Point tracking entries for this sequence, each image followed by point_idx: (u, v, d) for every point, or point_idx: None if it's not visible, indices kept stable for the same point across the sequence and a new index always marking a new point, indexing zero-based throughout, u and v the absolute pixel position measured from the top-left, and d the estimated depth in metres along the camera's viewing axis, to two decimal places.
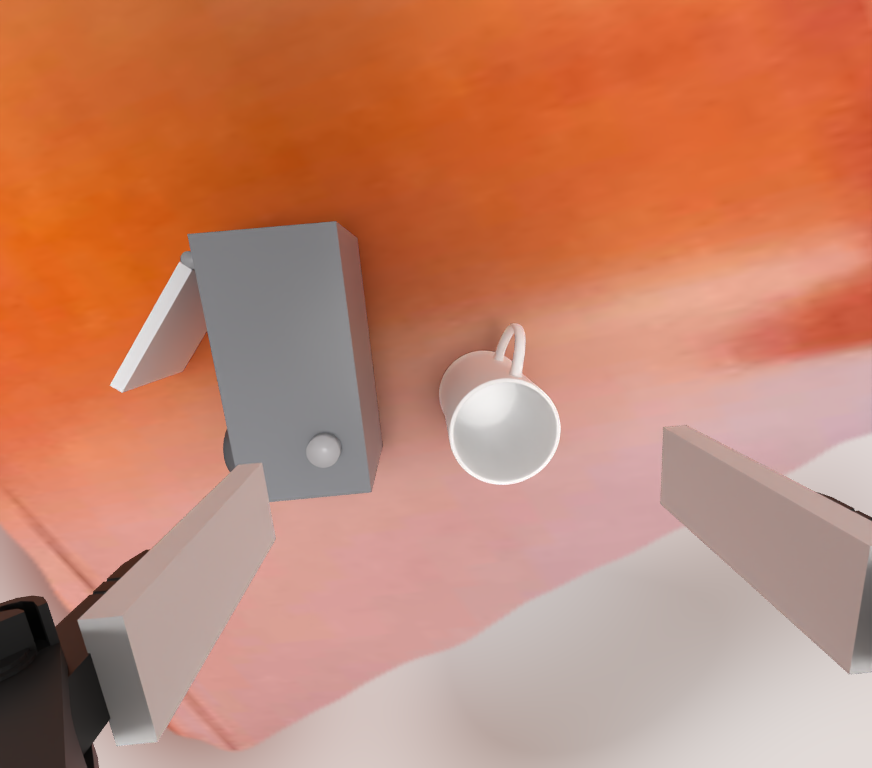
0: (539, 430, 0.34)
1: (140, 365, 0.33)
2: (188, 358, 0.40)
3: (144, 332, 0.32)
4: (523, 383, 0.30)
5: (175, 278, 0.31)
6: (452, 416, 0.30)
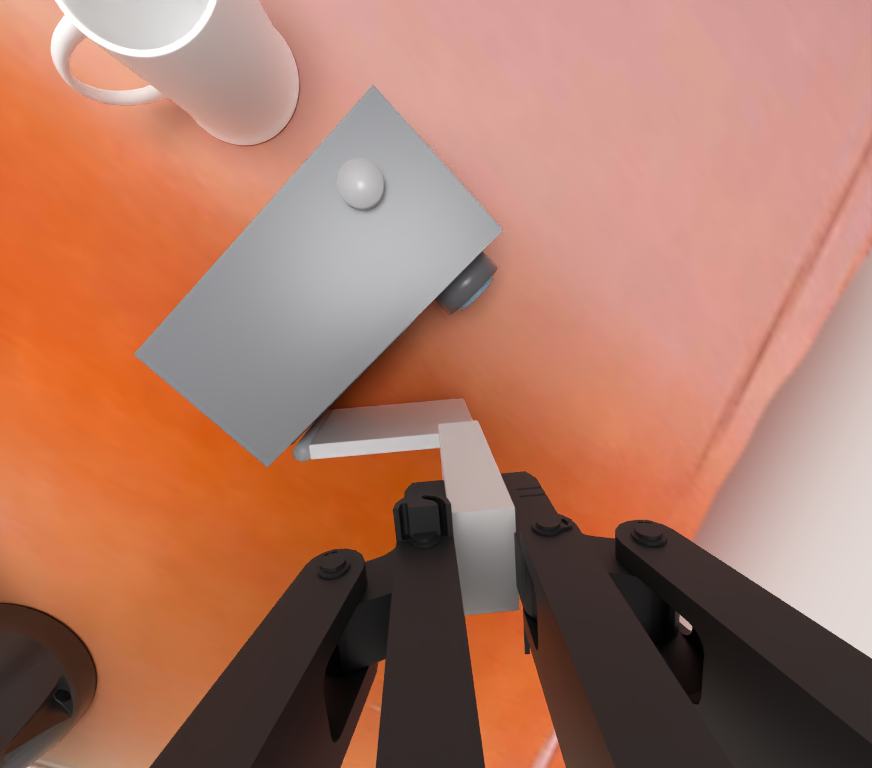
0: None
1: None
2: (444, 401, 0.36)
3: (400, 447, 0.28)
4: None
5: (328, 453, 0.28)
6: (175, 51, 0.20)
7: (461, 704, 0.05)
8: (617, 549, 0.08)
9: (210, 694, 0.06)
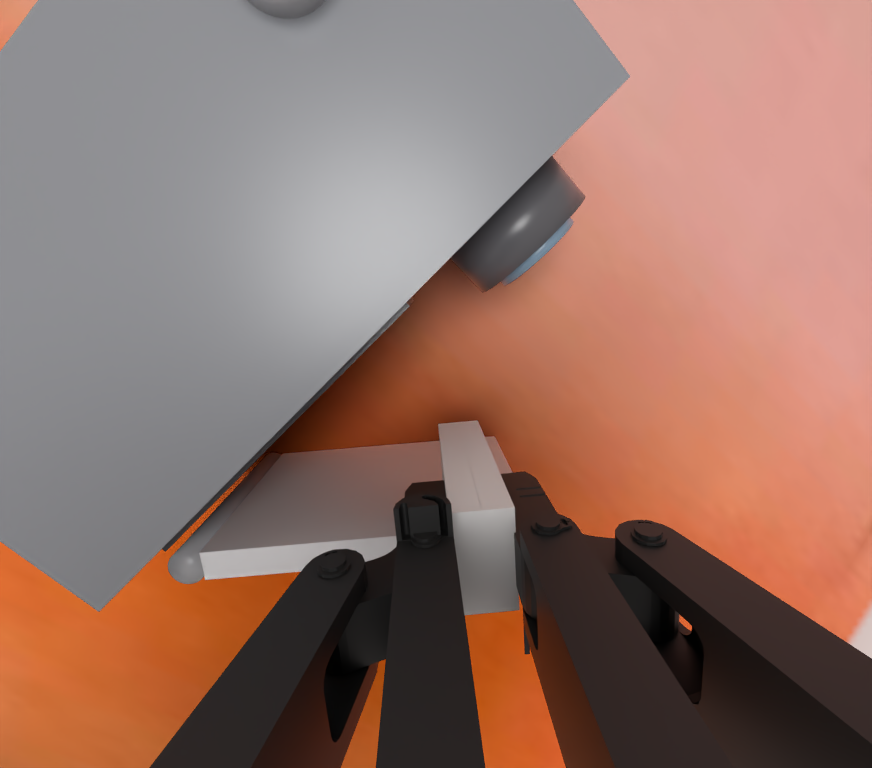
0: None
1: None
2: None
3: None
4: None
5: (239, 568, 0.14)
6: None
7: (461, 704, 0.05)
8: (617, 549, 0.08)
9: (210, 694, 0.06)
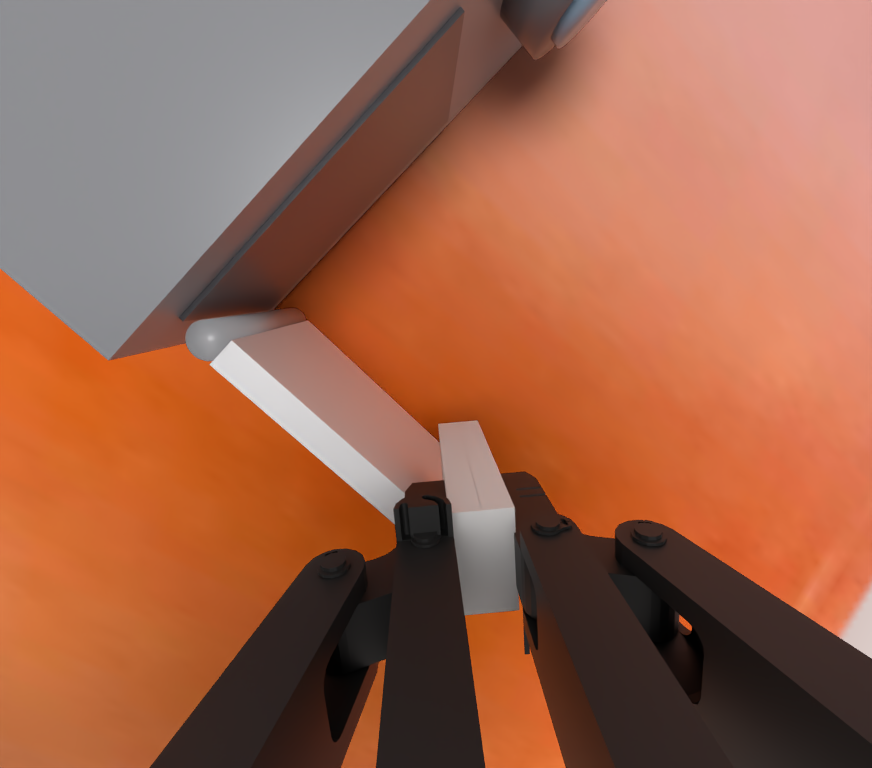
0: None
1: None
2: None
3: (366, 488, 0.14)
4: None
5: (248, 384, 0.13)
6: None
7: (461, 704, 0.05)
8: (617, 549, 0.08)
9: (210, 694, 0.06)
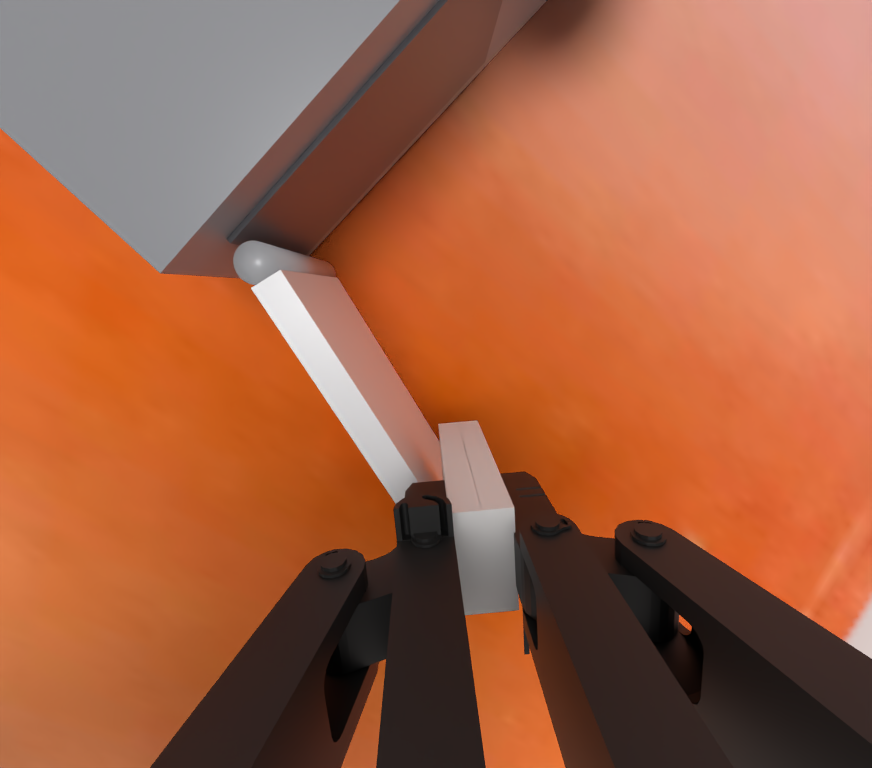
0: None
1: None
2: (437, 441, 0.22)
3: (371, 452, 0.13)
4: None
5: (284, 318, 0.12)
6: None
7: (462, 704, 0.05)
8: (616, 549, 0.08)
9: (211, 694, 0.06)
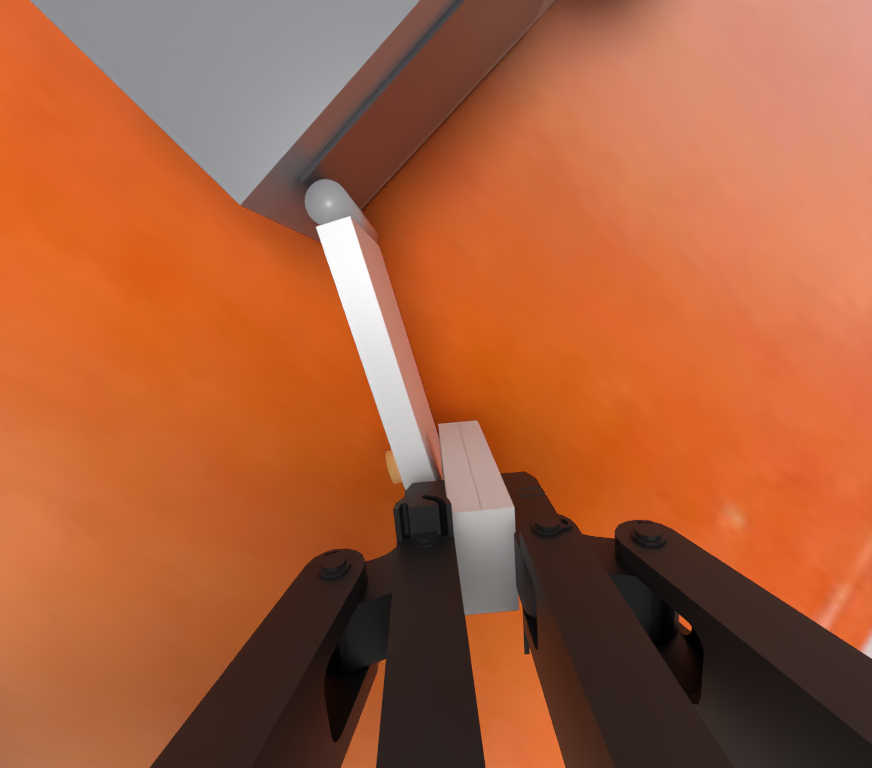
0: None
1: None
2: (436, 431, 0.22)
3: (391, 420, 0.13)
4: None
5: (341, 266, 0.12)
6: None
7: (461, 704, 0.05)
8: (617, 549, 0.08)
9: (210, 694, 0.06)
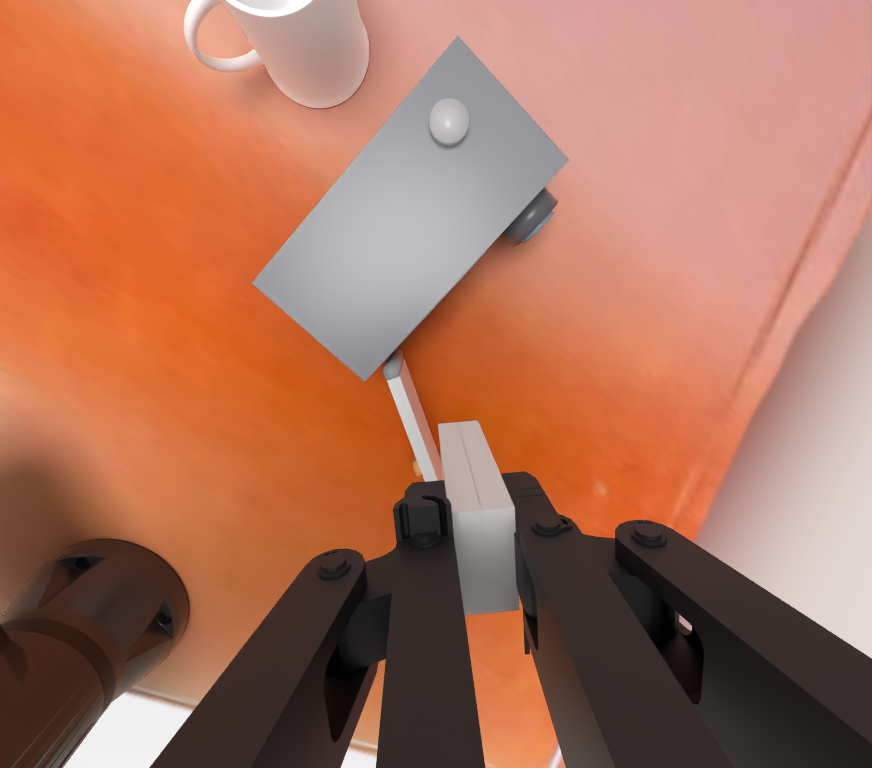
0: None
1: (436, 474, 0.34)
2: (436, 448, 0.42)
3: (416, 449, 0.33)
4: None
5: (396, 393, 0.32)
6: (298, 10, 0.24)
7: (461, 704, 0.05)
8: (617, 549, 0.08)
9: (210, 694, 0.06)
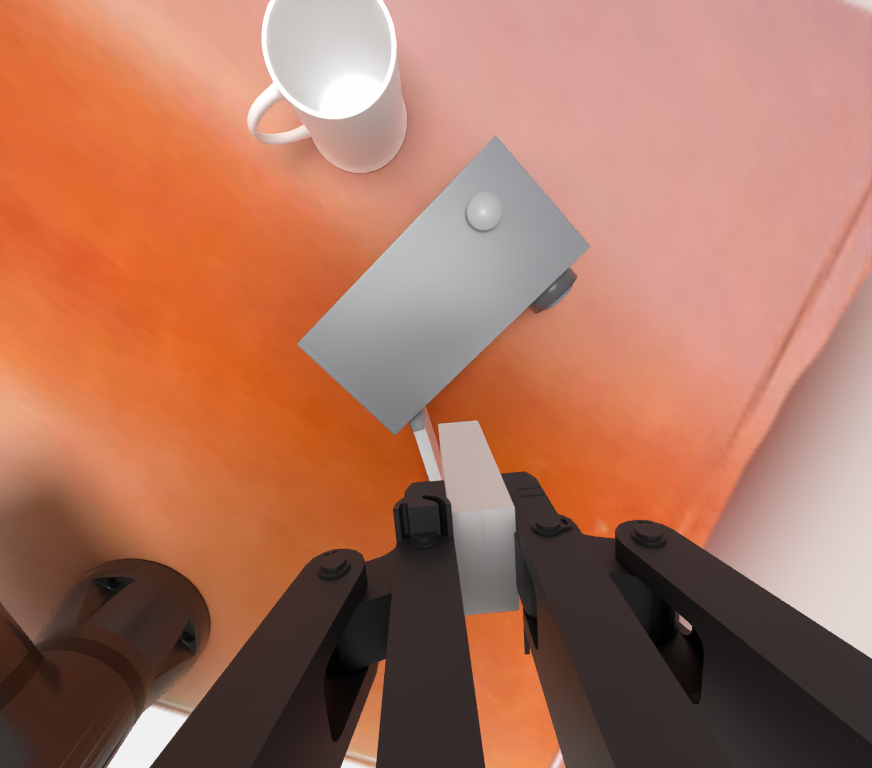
0: (315, 15, 0.28)
1: None
2: None
3: None
4: (271, 70, 0.26)
5: (421, 444, 0.35)
6: (356, 114, 0.27)
7: (461, 704, 0.05)
8: (617, 549, 0.08)
9: (210, 694, 0.06)
